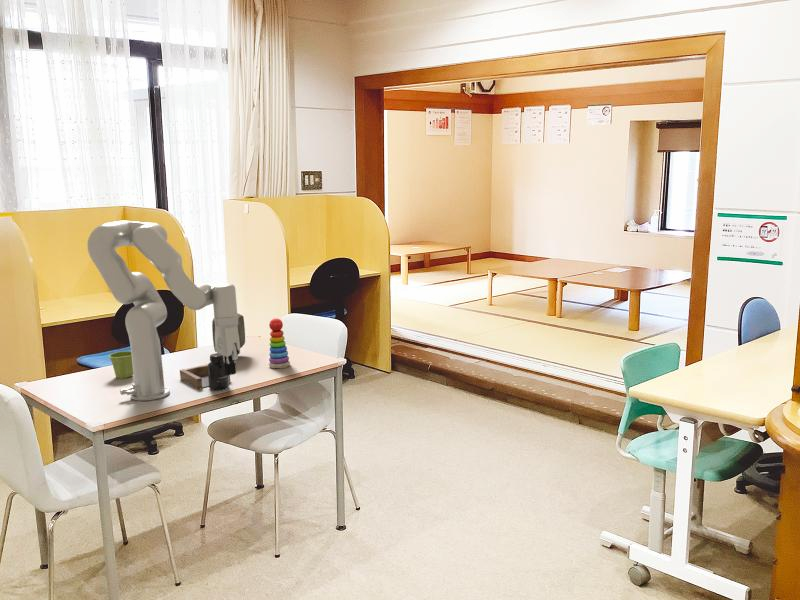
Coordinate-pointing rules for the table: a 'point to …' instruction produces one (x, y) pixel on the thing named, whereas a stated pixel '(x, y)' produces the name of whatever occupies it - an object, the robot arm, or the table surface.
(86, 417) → the table surface
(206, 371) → the u rest
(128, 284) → the robot arm
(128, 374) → the plant pot
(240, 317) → the tabletop clock
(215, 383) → the supplement bottle
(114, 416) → the table surface
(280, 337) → the stacking toy
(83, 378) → the table surface
